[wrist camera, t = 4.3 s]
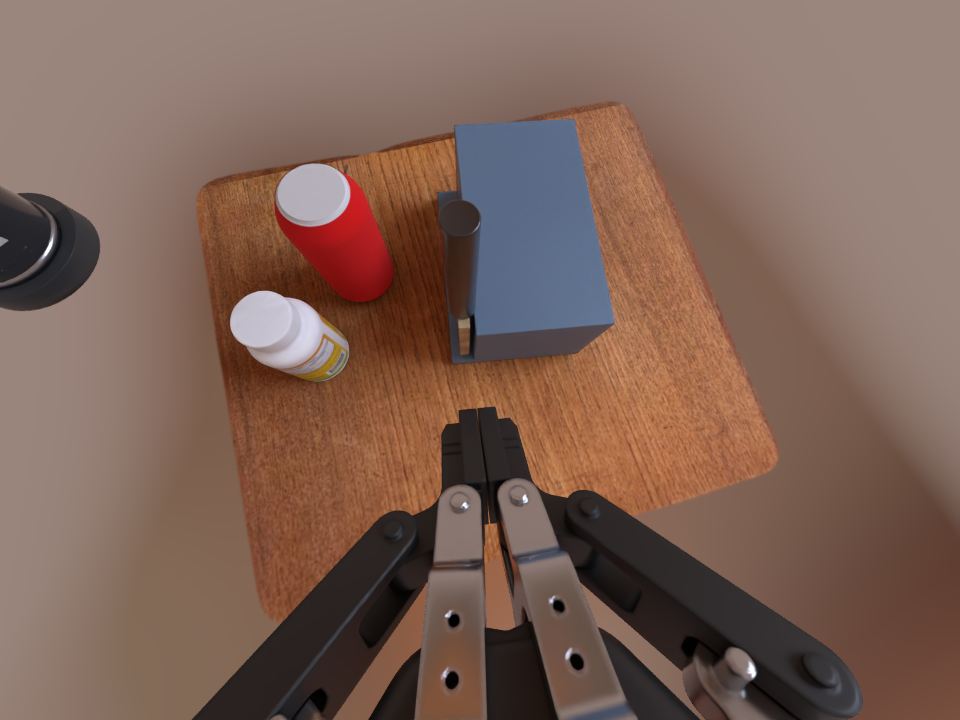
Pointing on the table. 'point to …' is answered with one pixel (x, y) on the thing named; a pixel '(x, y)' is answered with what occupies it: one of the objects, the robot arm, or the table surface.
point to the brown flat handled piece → (461, 262)
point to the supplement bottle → (289, 336)
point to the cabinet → (529, 242)
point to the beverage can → (334, 230)
